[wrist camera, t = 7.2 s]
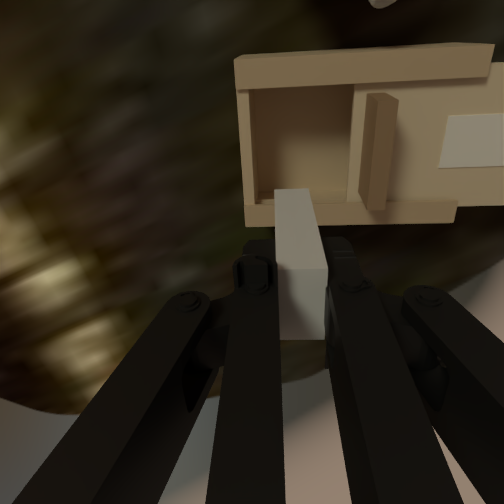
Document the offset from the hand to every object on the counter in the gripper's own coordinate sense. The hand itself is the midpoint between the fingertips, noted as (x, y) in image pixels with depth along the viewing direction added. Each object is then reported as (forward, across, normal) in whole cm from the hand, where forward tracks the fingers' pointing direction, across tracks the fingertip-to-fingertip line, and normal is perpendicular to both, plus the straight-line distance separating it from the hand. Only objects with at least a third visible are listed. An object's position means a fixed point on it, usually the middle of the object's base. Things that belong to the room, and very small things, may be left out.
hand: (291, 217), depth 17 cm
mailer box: (+18, +5, 0) cm, 18 cm away
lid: (+12, +12, 0) cm, 17 cm away
